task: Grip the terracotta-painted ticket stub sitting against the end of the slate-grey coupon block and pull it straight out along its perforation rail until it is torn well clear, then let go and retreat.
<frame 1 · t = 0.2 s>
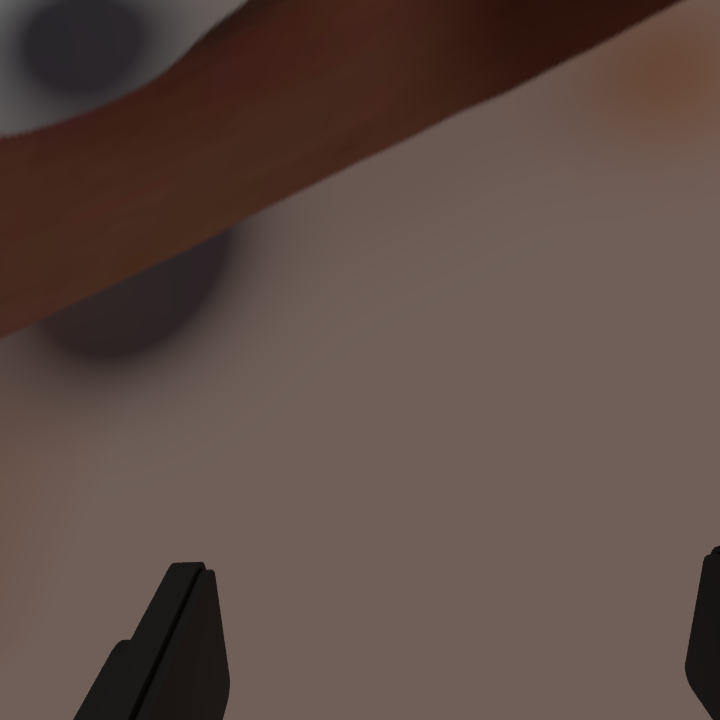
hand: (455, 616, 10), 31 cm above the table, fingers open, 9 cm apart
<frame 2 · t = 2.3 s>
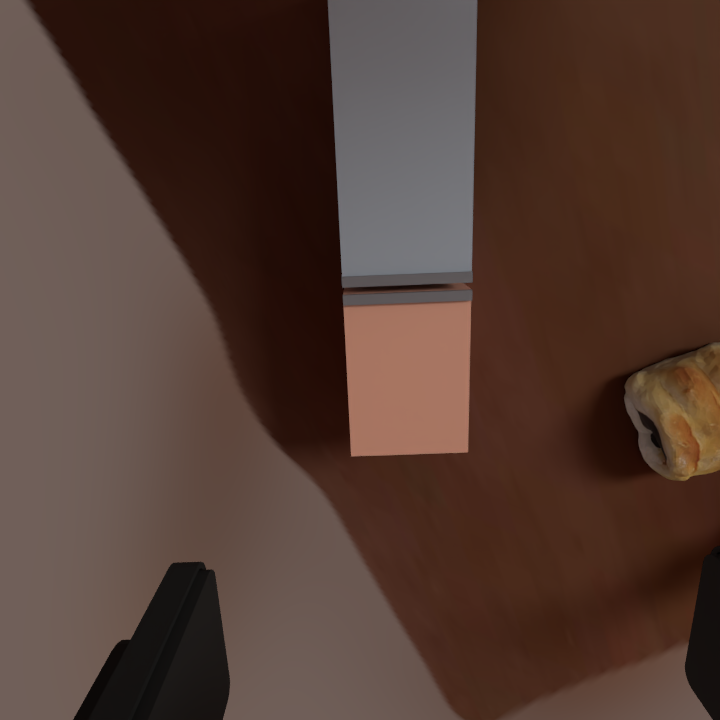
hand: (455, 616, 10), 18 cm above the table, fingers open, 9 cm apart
stub: (403, 356, 24), point 3 cm above the table, slide at 0.0 cm
coupon block: (394, 136, 24), on the table
pastry: (694, 393, 28), on the table
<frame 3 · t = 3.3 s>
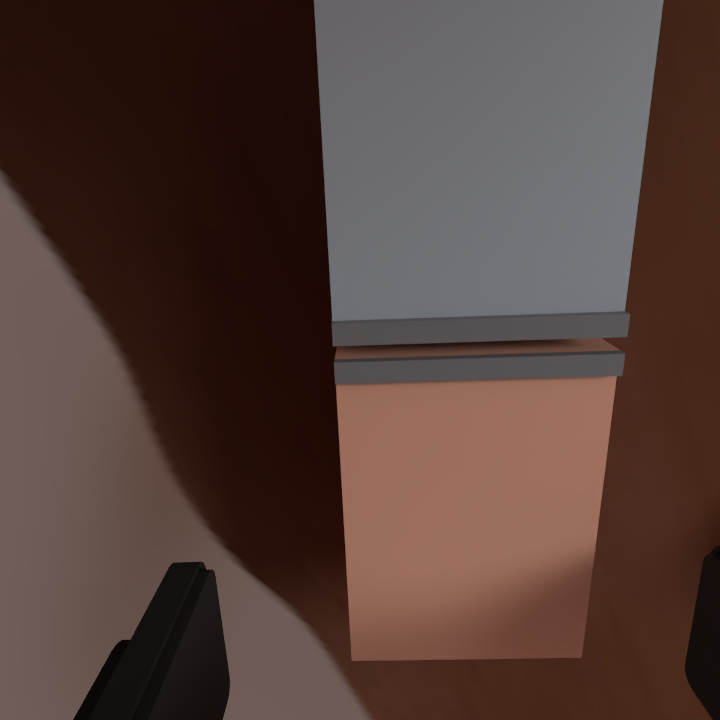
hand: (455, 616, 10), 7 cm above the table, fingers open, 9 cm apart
stub: (449, 452, 13), point 3 cm above the table, slide at 0.0 cm
coupon block: (436, 39, 13), on the table
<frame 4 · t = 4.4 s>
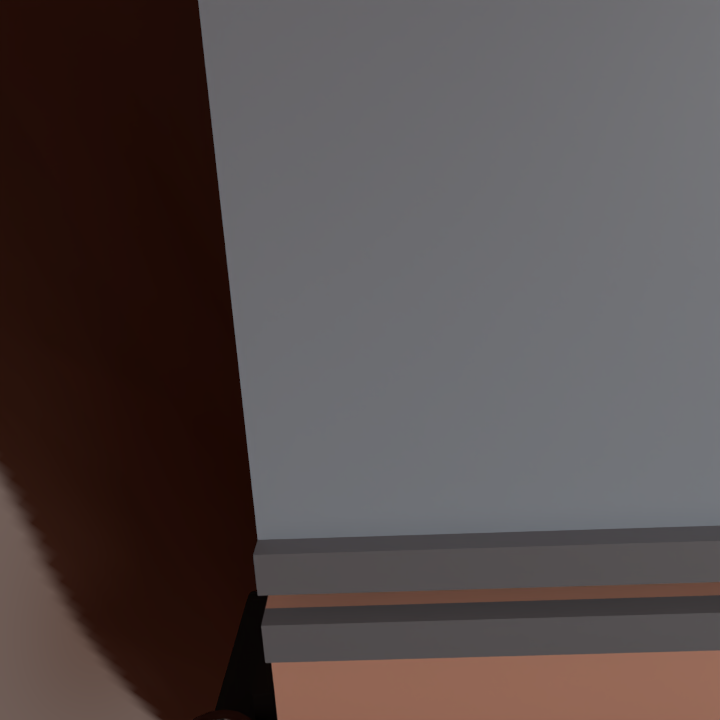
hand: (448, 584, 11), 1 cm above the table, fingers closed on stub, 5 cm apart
stub: (471, 648, 8), point 3 cm above the table, slide at 0.0 cm, touching gripper
coupon block: (445, 19, 9), on the table
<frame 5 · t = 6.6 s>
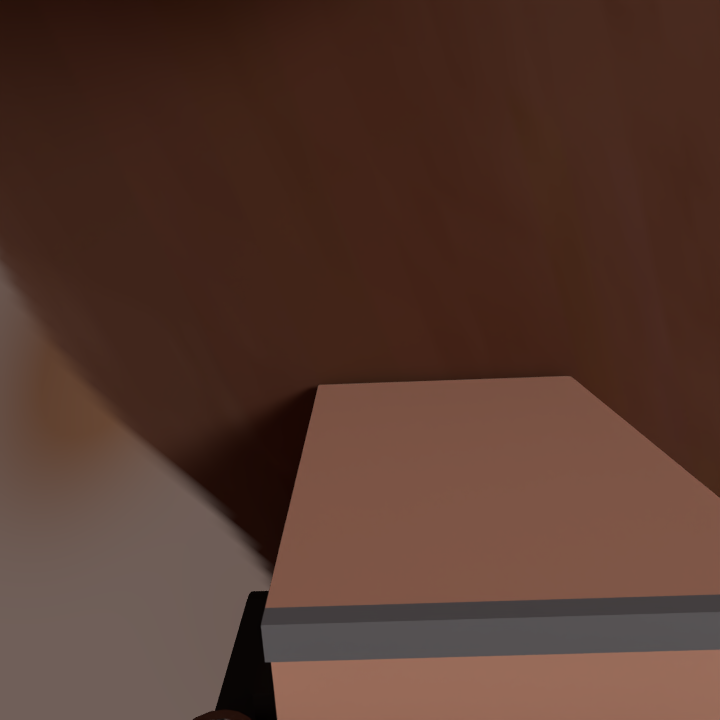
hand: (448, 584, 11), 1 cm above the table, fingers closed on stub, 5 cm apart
stub: (471, 648, 8), point 3 cm above the table, slide at 8.9 cm, touching gripper
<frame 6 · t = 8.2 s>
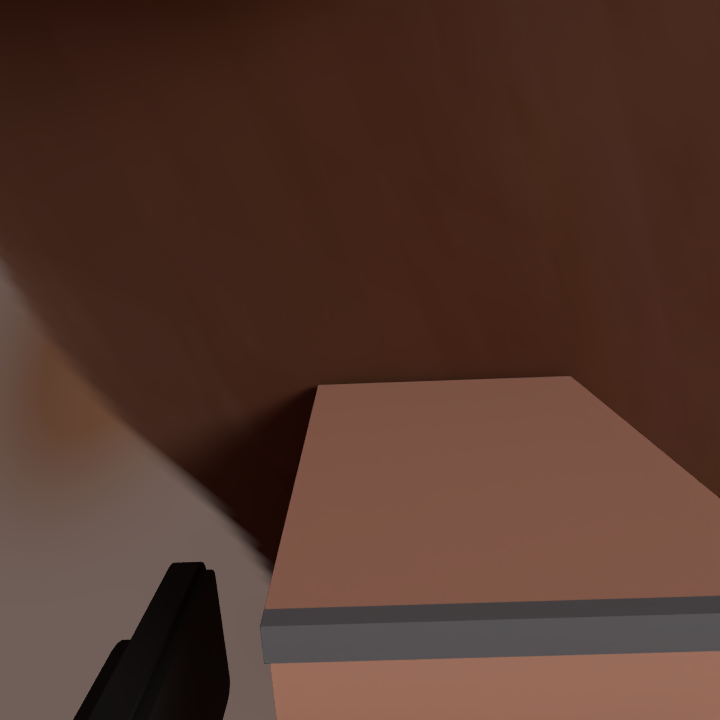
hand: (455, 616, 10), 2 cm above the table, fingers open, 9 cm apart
stub: (471, 649, 8), point 3 cm above the table, slide at 9.0 cm
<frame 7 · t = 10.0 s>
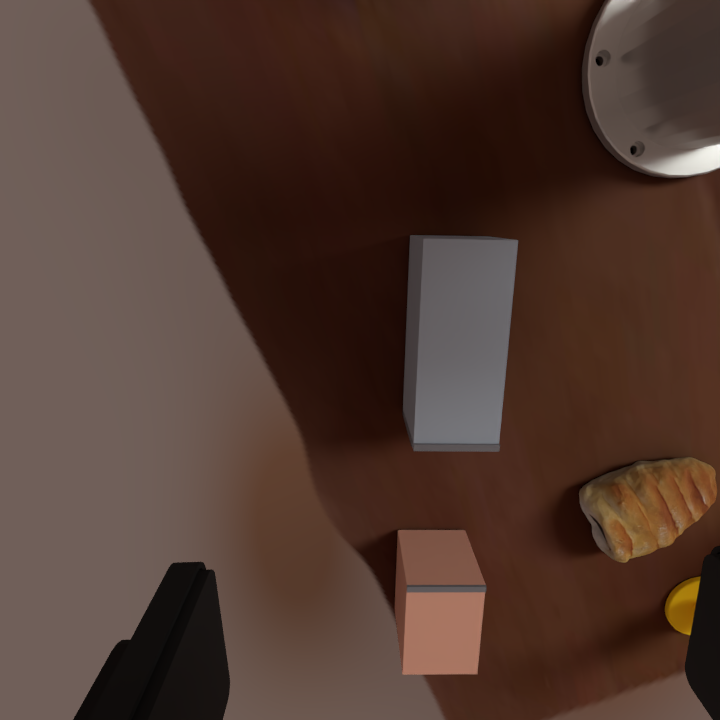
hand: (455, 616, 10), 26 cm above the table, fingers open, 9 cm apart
candle: (695, 601, 41), on the table
stub: (435, 599, 37), point 3 cm above the table, slide at 9.0 cm
coupon block: (443, 327, 35), on the table
pastry: (630, 493, 39), on the table
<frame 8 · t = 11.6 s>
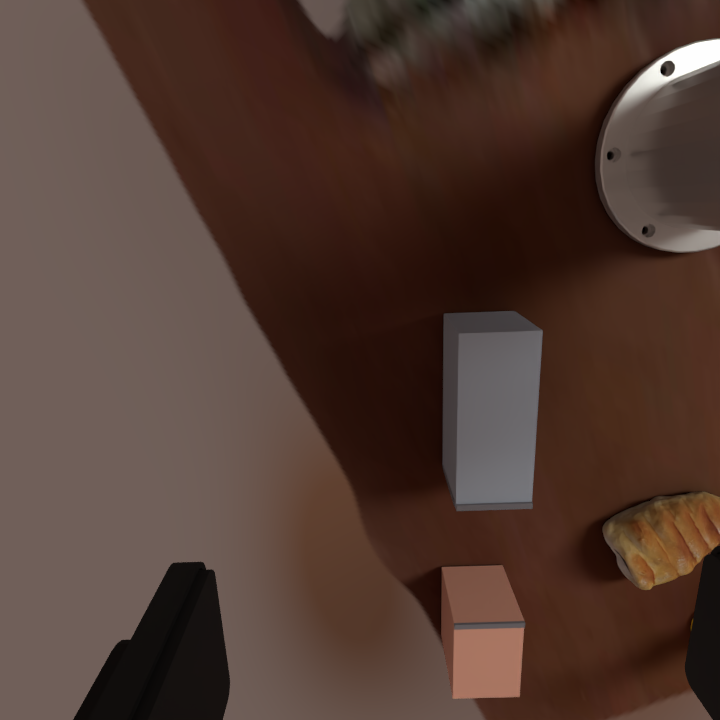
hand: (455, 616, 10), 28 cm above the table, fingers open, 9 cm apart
stub: (479, 629, 41), point 3 cm above the table, slide at 9.0 cm
coupon block: (476, 391, 39), on the table
pastry: (650, 525, 42), on the table
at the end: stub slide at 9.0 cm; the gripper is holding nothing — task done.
